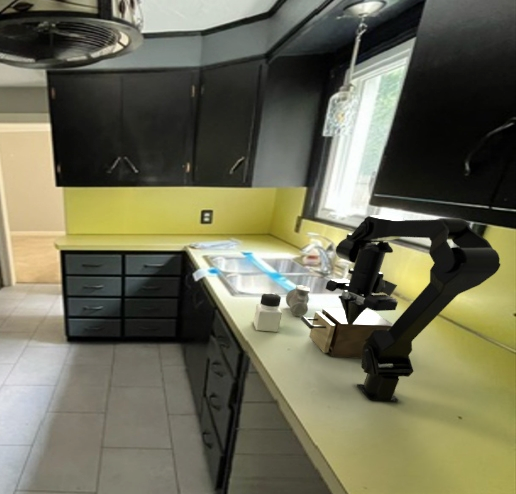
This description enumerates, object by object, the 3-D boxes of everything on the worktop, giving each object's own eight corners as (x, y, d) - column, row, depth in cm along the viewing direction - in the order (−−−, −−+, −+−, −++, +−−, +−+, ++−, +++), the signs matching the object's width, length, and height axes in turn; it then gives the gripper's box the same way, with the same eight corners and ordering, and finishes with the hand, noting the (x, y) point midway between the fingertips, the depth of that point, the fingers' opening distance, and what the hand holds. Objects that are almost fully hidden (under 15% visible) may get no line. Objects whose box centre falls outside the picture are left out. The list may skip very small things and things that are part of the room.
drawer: (306, 351, 108) (313, 324, 104) (293, 335, 118) (299, 310, 115) (371, 355, 106) (381, 327, 103) (352, 338, 116) (360, 313, 113)
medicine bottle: (278, 332, 123) (285, 298, 118) (256, 330, 124) (262, 297, 119) (273, 324, 129) (280, 292, 124) (253, 322, 131) (258, 290, 126)
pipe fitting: (283, 304, 147) (290, 281, 142) (304, 308, 145) (313, 285, 140) (283, 317, 138) (292, 293, 132) (306, 322, 135) (316, 297, 130)
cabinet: (331, 356, 107) (341, 323, 103) (314, 338, 118) (322, 308, 114) (383, 359, 106) (396, 325, 101) (361, 341, 117) (371, 310, 113)
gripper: (428, 276, 85) (405, 336, 91) (368, 258, 102) (352, 310, 108) (385, 277, 83) (365, 338, 90) (331, 259, 100) (317, 312, 107)
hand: (349, 323), depth 99 cm, fingers closed
